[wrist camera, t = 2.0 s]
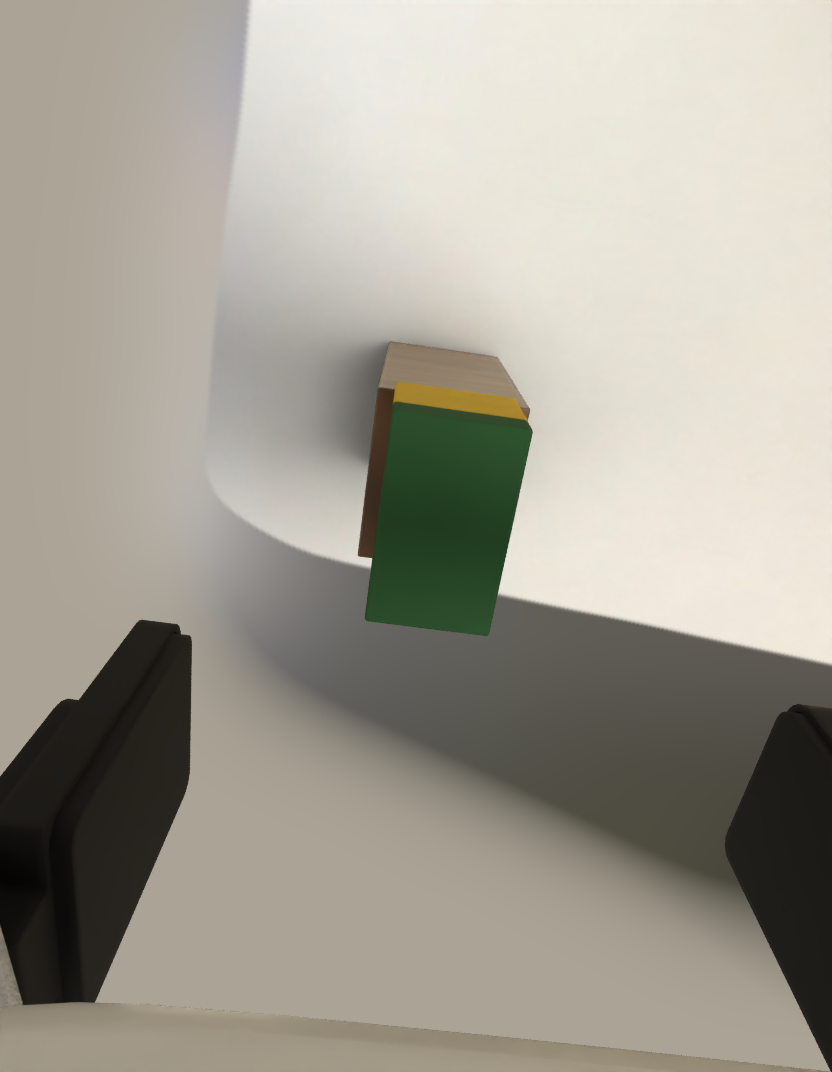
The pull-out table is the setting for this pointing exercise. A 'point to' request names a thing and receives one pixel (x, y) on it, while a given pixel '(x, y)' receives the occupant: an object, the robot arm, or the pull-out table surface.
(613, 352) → the pull-out table surface
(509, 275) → the pull-out table surface
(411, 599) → the sponge
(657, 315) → the pull-out table surface
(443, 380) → the wooden block
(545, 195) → the pull-out table surface
